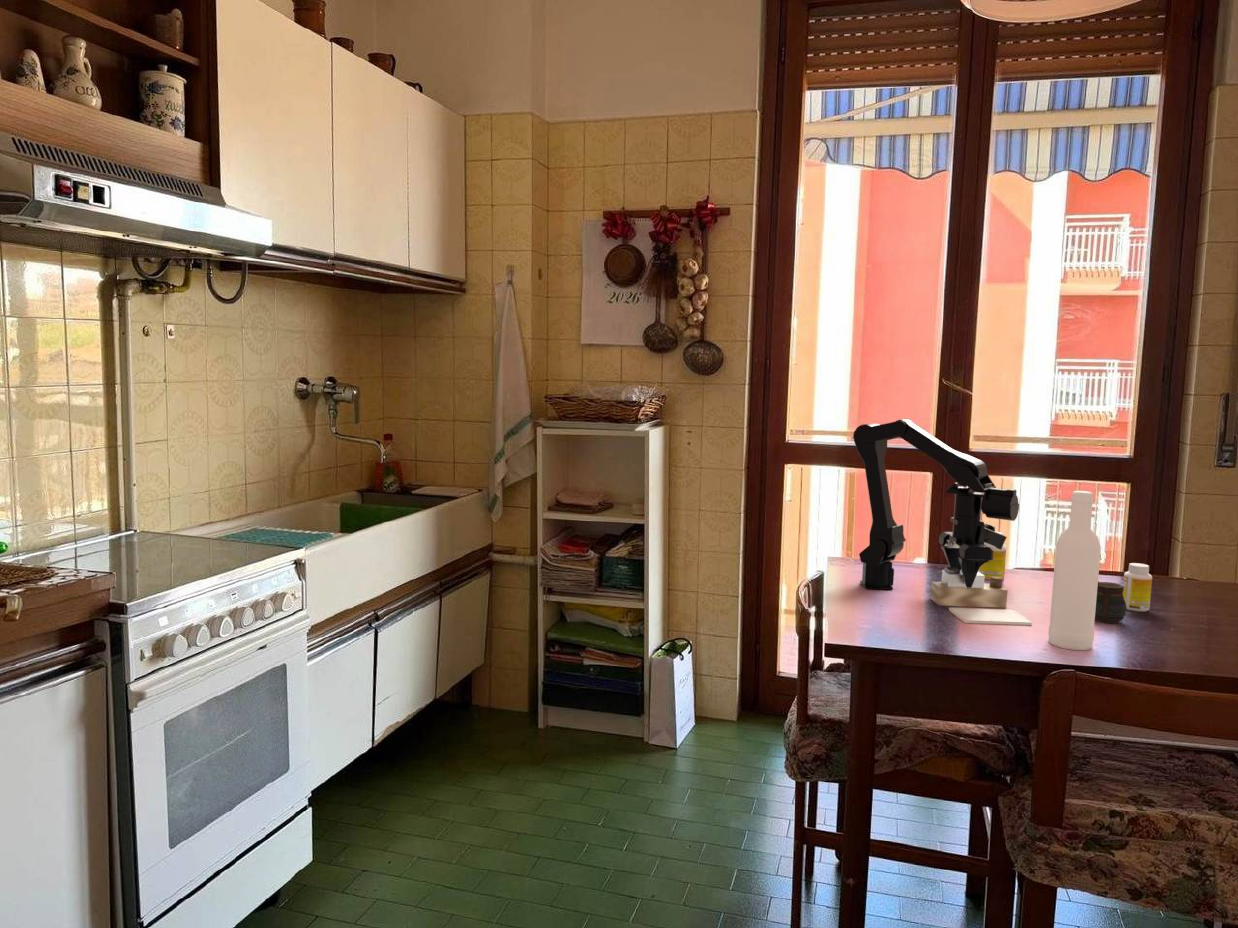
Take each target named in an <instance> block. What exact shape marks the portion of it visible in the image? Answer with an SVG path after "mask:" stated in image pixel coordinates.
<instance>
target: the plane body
mask: <svg viewBox="0 0 1238 928" xmlns="http://www.w3.org/2000/svg"><path fill="white" fill-rule="evenodd" d="M1002 580H1003V579H1002V578H1000V577H990V584H987V583H984V589H979V588H950V587H947V586H945V585H944V584H943V583H941V581H931V584H930V586H931V587H930V598H929V599H930V600H932V601H933V603H935V604H936V605H938V606H944V607H945V606H946V607H947V606H948V607H949V606H950V607H971V608H973V607H974V608H975V607H977V608H978V607H979V608H980V607H981V608H999V609H1003V608H1005V609H1006V608H1007V604H1008V589H1006V588H1004V587H1003V584H1002Z"/></svg>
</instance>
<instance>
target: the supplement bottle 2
mask: <svg viewBox="0 0 1238 928" xmlns="http://www.w3.org/2000/svg"><path fill="white" fill-rule="evenodd" d="M1128 564H1129V565H1128V570H1127V571H1125V572H1124V574H1123V582H1122V583H1123V584H1122V585H1123V586H1124V590H1123V597H1124V600H1125V603H1126V608H1127V610H1126V611H1132V612H1140V613H1141V612H1143V613H1144V612H1148V611H1149V610H1150V606H1151V596H1152V584H1153V576H1152V575H1151V574H1150V573H1149V571H1150V565H1148V564H1145V563H1139V562H1138V563H1137V562H1131V563H1128Z"/></svg>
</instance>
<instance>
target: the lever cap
mask: <svg viewBox="0 0 1238 928" xmlns="http://www.w3.org/2000/svg"><path fill="white" fill-rule="evenodd" d="M984 579H985V575H983V574H981V573H980V572H978V573H977V575H976V578H975V580H974V582H973V585H972V587H971V588H979V589H984ZM940 582H941V583H943V584H944V585H945V586H947V587H950V588H967V587H966V585H965V581H964V578H963V574H962V570H958V569H957V568H955V567H949V566H948V567H947V566H945V567H944V569H941V581H940Z"/></svg>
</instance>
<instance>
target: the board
mask: <svg viewBox="0 0 1238 928" xmlns="http://www.w3.org/2000/svg"><path fill="white" fill-rule="evenodd" d="M948 611H949V612H950V613H952V614H953V615H954V616H955V617H957V618H958V619H960V621H961V622H963V623H964V624H980V625H981V624H983V625H986V624H987V625H988V624H989V625H1009V626H1010V625H1011V626H1013V625H1015V626H1033V621H1031V620H1030V619H1027V617H1025V616H1023V615H1022V614H1020V613H1019V612H1017V611H1016V610H1014V609H1003V608H999V609H997V608H996V609H995V608H975V607H974V608H973V607H969V608H968V607H948Z"/></svg>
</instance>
